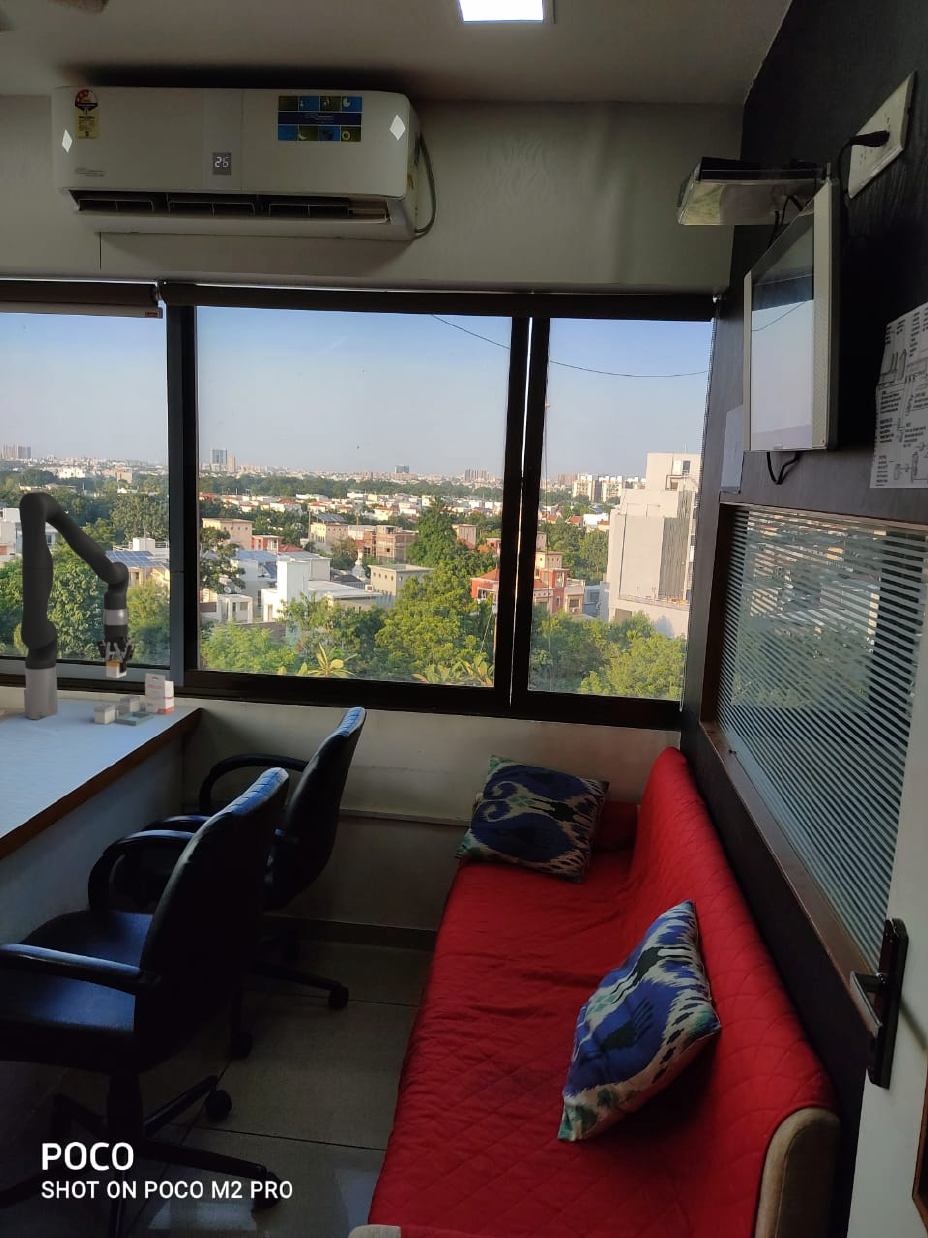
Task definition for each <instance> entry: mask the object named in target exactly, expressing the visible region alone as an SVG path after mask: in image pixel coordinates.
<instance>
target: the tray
mask: <svg viewBox="0 0 928 1238" xmlns="http://www.w3.org/2000/svg"><path fill="white" fill-rule="evenodd" d="M133 717H135V718H139V719H137V720H133V719H129V718H133ZM153 719H154V713H151V712H143V711H141V712H135V711H132V712H129V713H127V714H124V715H122V716H119V717H117V718H115V722H114V724H120V725H127V726H135V727H137V726H139V725H142V724H143V723H146V722H148V721H152V720H153Z"/></svg>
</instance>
